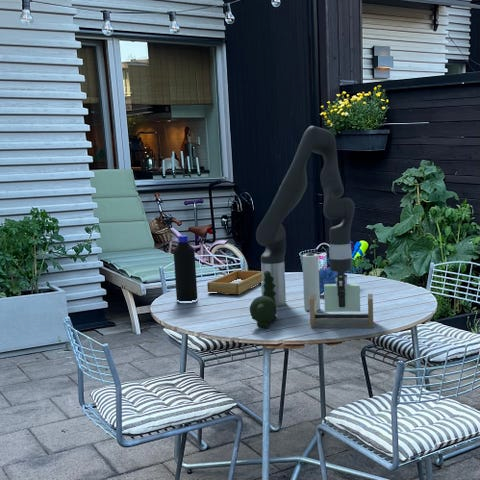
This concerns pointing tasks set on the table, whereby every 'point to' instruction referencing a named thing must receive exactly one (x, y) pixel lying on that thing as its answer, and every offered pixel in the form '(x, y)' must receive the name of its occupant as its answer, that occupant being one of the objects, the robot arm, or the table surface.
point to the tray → (235, 288)
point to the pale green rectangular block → (350, 299)
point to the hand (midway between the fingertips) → (342, 305)
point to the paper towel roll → (311, 279)
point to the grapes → (326, 278)
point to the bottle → (185, 270)
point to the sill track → (341, 317)
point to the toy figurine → (265, 304)
